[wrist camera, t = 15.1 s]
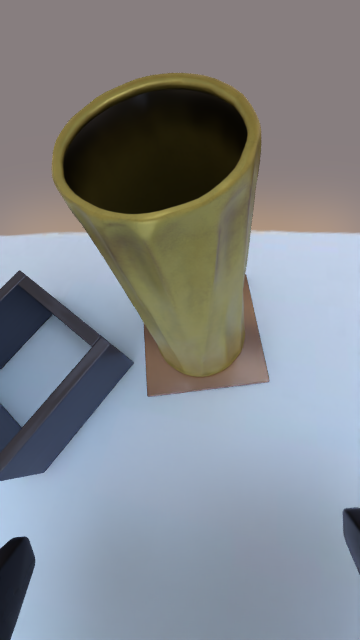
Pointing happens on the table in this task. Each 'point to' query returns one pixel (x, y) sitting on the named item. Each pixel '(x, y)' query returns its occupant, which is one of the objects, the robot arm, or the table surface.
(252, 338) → the cork pad
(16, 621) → the robot arm
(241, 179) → the vase
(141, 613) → the table surface
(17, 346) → the holder
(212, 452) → the table surface
